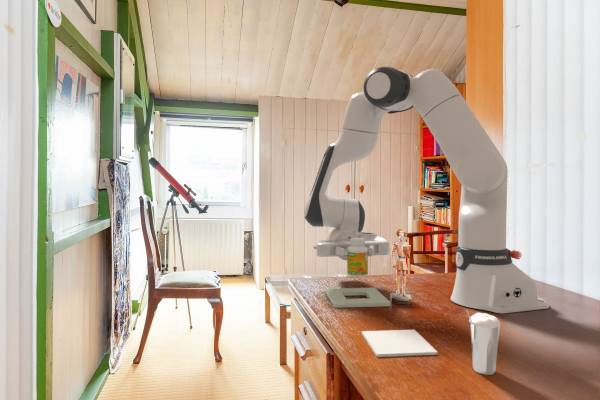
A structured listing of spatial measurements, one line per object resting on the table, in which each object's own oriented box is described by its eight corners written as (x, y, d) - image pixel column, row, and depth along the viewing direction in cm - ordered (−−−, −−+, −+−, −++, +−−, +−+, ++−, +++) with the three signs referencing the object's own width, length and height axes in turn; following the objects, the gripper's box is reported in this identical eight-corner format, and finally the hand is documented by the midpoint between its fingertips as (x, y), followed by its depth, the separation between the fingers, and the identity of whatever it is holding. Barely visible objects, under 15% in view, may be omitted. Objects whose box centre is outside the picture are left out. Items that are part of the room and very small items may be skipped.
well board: (374, 291, 114) (374, 287, 114) (390, 306, 100) (390, 302, 100) (325, 292, 112) (325, 288, 112) (334, 307, 98) (334, 303, 98)
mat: (414, 331, 82) (414, 329, 82) (437, 354, 71) (437, 351, 71) (361, 333, 81) (361, 331, 81) (376, 357, 70) (376, 354, 70)
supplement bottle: (344, 276, 104) (344, 239, 104) (350, 272, 109) (349, 236, 109) (365, 278, 102) (364, 240, 102) (370, 273, 107) (369, 237, 107)
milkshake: (458, 364, 67) (459, 305, 67) (489, 363, 68) (490, 305, 67) (472, 377, 63) (473, 314, 62) (505, 376, 63) (506, 313, 63)
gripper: (312, 235, 117) (318, 241, 104) (380, 233, 119) (395, 239, 105) (312, 256, 118) (318, 265, 104) (380, 254, 119) (395, 263, 106)
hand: (358, 252), depth 105 cm, fingers closed on supplement bottle, 5 cm apart
